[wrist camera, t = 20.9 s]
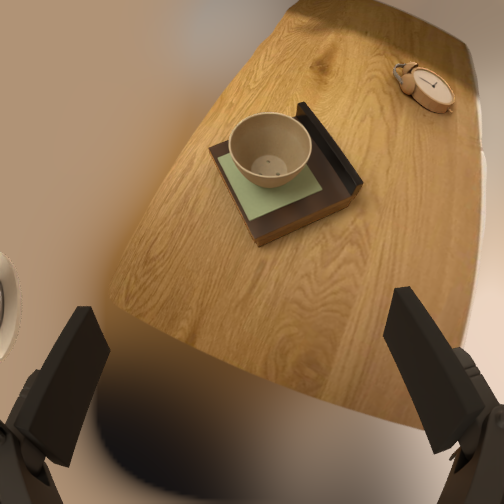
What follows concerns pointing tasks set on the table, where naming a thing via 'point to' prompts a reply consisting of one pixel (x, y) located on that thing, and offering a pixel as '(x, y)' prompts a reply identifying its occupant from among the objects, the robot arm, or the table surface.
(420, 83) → the alarm clock
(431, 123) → the table surface
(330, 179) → the tray
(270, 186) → the flower pot
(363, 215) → the table surface
